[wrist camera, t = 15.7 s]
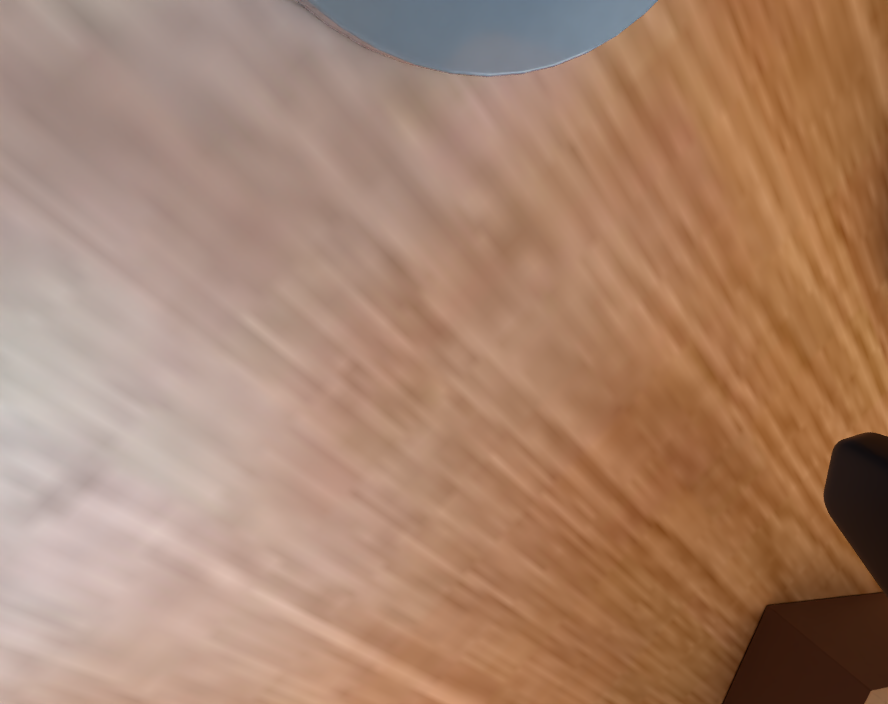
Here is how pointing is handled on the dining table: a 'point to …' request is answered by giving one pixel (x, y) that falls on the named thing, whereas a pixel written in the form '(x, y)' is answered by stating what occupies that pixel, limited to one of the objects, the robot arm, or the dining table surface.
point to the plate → (480, 30)
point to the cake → (817, 654)
